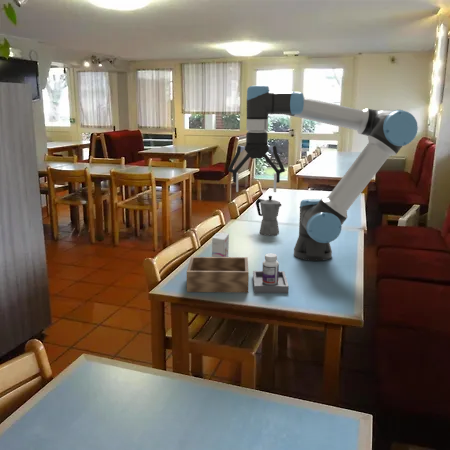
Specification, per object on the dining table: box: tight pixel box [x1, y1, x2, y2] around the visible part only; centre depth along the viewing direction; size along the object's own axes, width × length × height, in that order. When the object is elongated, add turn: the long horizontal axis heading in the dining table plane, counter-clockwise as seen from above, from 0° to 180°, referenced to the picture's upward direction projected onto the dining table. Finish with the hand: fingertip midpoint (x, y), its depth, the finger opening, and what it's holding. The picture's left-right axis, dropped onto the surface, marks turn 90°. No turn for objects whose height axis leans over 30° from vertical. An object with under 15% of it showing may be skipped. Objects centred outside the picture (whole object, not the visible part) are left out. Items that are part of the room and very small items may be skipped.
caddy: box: [186, 256, 250, 294], centre depth 156 cm, size 20×15×7 cm
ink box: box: [211, 232, 230, 257], centre depth 173 cm, size 9×5×12 cm, turn 168°
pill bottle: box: [262, 252, 280, 285], centre depth 154 cm, size 5×5×10 cm
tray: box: [252, 270, 290, 294], centre depth 156 cm, size 11×14×2 cm
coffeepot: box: [255, 195, 282, 236], centre depth 217 cm, size 15×9×18 cm, turn 44°
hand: (255, 191), depth 166 cm, fingers open, 13 cm apart
